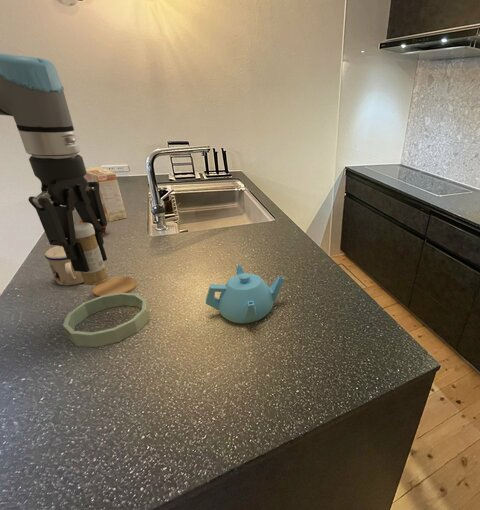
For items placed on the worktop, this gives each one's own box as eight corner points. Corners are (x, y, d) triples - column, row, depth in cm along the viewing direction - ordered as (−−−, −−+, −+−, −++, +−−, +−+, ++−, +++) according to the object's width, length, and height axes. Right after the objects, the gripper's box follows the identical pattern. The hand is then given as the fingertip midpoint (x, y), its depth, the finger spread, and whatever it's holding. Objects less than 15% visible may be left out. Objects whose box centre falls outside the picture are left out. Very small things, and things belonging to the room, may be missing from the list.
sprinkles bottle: (93, 275, 71) (75, 220, 64) (113, 276, 71) (97, 222, 65) (78, 285, 67) (57, 228, 60) (99, 287, 67) (81, 230, 61)
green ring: (50, 343, 67) (44, 330, 65) (103, 301, 80) (99, 290, 79) (120, 349, 66) (116, 337, 65) (161, 306, 80) (159, 295, 79)
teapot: (241, 288, 91) (239, 256, 86) (286, 301, 86) (285, 268, 81) (204, 317, 78) (198, 281, 73) (253, 335, 73) (251, 298, 69)
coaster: (84, 296, 82) (83, 294, 81) (111, 277, 90) (110, 275, 90) (120, 300, 81) (120, 297, 81) (144, 280, 90) (143, 278, 90)
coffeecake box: (93, 213, 133) (79, 167, 124) (111, 209, 138) (99, 165, 129) (108, 222, 126) (95, 174, 117) (127, 218, 131) (116, 172, 122)
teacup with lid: (56, 274, 90) (42, 238, 84) (95, 267, 95) (84, 233, 89) (53, 295, 81) (37, 256, 76) (96, 286, 86) (83, 249, 81)
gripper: (30, 165, 48) (75, 288, 59) (110, 150, 64) (134, 249, 75) (-17, 161, 48) (37, 284, 59) (74, 146, 64) (104, 246, 75)
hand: (91, 264), depth 67 cm, fingers closed on sprinkles bottle, 4 cm apart
